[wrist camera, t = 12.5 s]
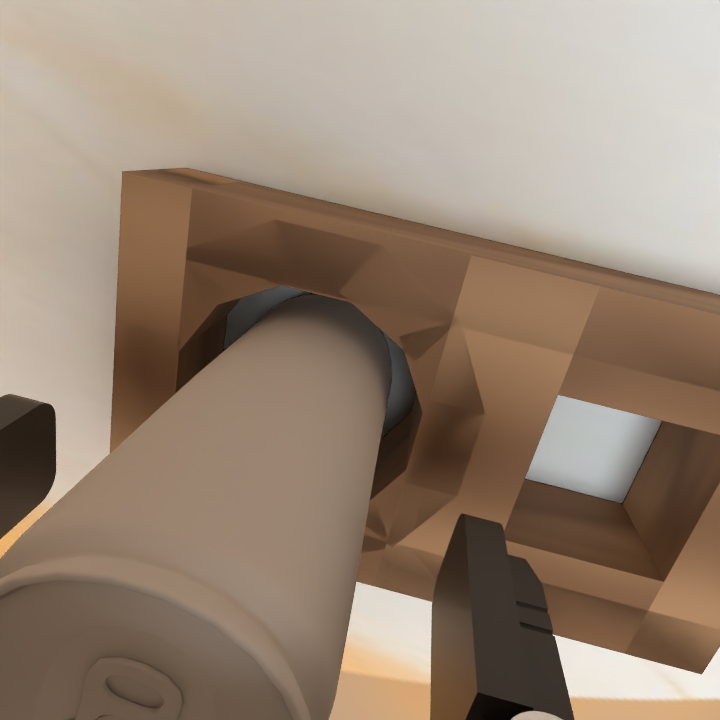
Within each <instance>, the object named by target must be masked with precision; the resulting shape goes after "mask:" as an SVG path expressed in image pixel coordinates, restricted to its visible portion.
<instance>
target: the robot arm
mask: <svg viewBox="0 0 720 720" xmlns="http://www.w3.org/2000/svg"><path fill="white" fill-rule="evenodd" d="M55 475H56V417H55V411H54V408H53V407H52V406H51V405H50V404H47V403H43V402H39V401H36V400H32V399H28V398H24V397H20V396H17V395H13V394H8V395H4V396H2V397H0V539H1V538H2V537H3V536H4V535H5V534H7V533H8V532H9V531H10V530H11V529H12V528H13V527H14V526H16V525H17V524H18V523H19V522H20V521H21V520H22V519H23V518H24V517H26V516H27V515H28V514H29V513H30V512H31V511H32V510H33V509H34V508H36V507H37V506H38V505H39V504H40V503H41V502H42V501H43V500H44V499H45V497H46V496H47V494H48V493H49V491H50V489H51V487H52V485H53V482H54V479H55ZM547 612H548V606H547V602H546V598H545V594H544V590H543V585H542V583H541V581H540V580H539V578H538V577H537V575H536V574H535V572H534V571H533V569H532V568H531V566H530V565H529V563H528V562H527V560H526V559H524V558H520V557H516V556H513V555H509V554H508V552H507V546H506V541H505V535H504V529H503V526H502V524H501V523H498V522H494V521H490V520H486V519H482V518H479V517H475V516H471V515H467V514H463V513H462V514H461V515H460V516H459V518H458V520H457V522H456V525H455V528H454V531H453V534H452V536H451V539H450V542H449V545H448V548H447V551H446V553H445V556H444V559H443V562H442V565H441V568H440V570H439V573H438V576H437V580H436V584H435V589H434V595H433V602H432V638H431V714H430V715H431V716H430V720H574V716H573V711H572V707H571V704H570V699H569V695H568V690H567V686H566V682H565V678H564V674H563V669H562V665H561V661H560V657H559V653H558V648H557V644H556V640H555V636H553V627H552V623H551V619H550V615H549V614H548V613H547Z"/></svg>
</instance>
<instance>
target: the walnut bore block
mask: <svg viewBox="0 0 720 720" xmlns="http://www.w3.org/2000/svg"><path fill="white" fill-rule="evenodd" d="M278 286H286V287H290V288H294V289H298V290H302V291H306V292H310V293H314V294H318V295H322V296H326V297H330V298H335V299H339V300H343V301H347V302H351V303H352V304H353V305H355V306H356V307H357V308H358V309H359V310H360V311H361V312H362V313H363V314H364V315H365V316H366V317H368V318H369V319H370V320H371V321H372V322H373V323H374V324H375V325H376V326H377V327H378V328H380V329H381V330H382V331H383V332H384V333H385V334H386V335H387V336H388V337H389V338H390V339H391V340H393V341H394V342H395V343H396V344H397V345H398V346H399V347H400V348H401V349H402V350H403V351H404V353H405V356H406V359H407V363H408V366H409V369H410V373H411V376H412V379H413V382H414V386H415V389H416V392H417V395H416V399H415V402H414V406H413V409H412V412H411V413H410V414H409V415H408V416H407V417H405V418H404V419H403V420H402V421H401V422H400V423H399V424H398V425H397V426H395V427H394V428H393V429H392V430H391V431H390V432H389V433H388V434H387V435H385V436H384V437H383V438H382V439H381V440H380V444H379V450H378V455H377V461H376V466H375V472H374V478H373V484H372V490H371V496H370V502H369V508H368V514H367V520H366V526H365V532H364V538H363V544H362V550H361V556H360V563H359V569H358V575H357V580H356V581H357V582H361V583H364V584H368V585H372V586H376V587H379V588H383V589H387V590H390V591H394V592H398V593H402V594H405V595H409V596H413V597H416V598H420V599H424V600H428V601H431V602H433V595H434V589H435V584H436V580H437V576H438V573H439V570H440V568H441V565H442V562H443V559H444V556H445V553H446V551H447V548H448V545H449V542H450V539H451V536H452V534H453V531H454V528H455V525H456V522H457V520H458V518H459V516H460V515H461V514H462V513H463V514H467V515H471V516H475V517H479V518H482V519H486V520H490V521H494V522H498V523H501V524H502V526H503V529H504V535H505V541H506V546H507V552H508V554H509V555H513V556H516V557H520V558H524V559H526V560H527V562H528V563H529V565H530V566H531V568H532V569H533V571H534V572H535V574H536V575H537V577H538V578H539V580H540V581H541V583H542V585H543V590H544V594H545V598H546V602H547V606H548V612H547V613H548V614H549V615H550V619H551V623H552V627H553V634H554V635H557V636H561V637H565V638H569V639H572V640H576V641H580V642H583V643H587V644H591V645H595V646H598V647H602V648H606V649H609V650H613V651H617V652H621V653H624V654H628V655H632V656H635V657H639V658H643V659H647V660H650V661H654V662H658V663H661V664H665V665H669V666H673V667H676V668H680V669H684V670H687V671H691V672H695V673H699V674H702V673H703V672H704V670H705V669H706V667H707V665H708V664H709V662H710V661H711V659H712V658H713V656H714V655H715V653H716V652H717V650H718V649H719V647H720V295H717V294H713V293H709V292H705V291H700V290H696V289H692V288H688V287H684V286H679V285H675V284H671V283H667V282H663V281H658V280H654V279H650V278H646V277H642V276H638V275H633V274H629V273H625V272H621V271H617V270H612V269H608V268H604V267H600V266H596V265H591V264H587V263H583V262H579V261H575V260H570V259H566V258H562V257H558V256H554V255H549V254H545V253H541V252H537V251H533V250H529V249H524V248H520V247H516V246H512V245H508V244H503V243H499V242H495V241H491V240H487V239H482V238H478V237H474V236H470V235H466V234H461V233H457V232H453V231H449V230H445V229H440V228H436V227H432V226H428V225H424V224H419V223H415V222H411V221H407V220H403V219H399V218H394V217H390V216H386V215H382V214H378V213H373V212H369V211H365V210H361V209H357V208H352V207H348V206H344V205H340V204H336V203H331V202H327V201H323V200H319V199H315V198H310V197H306V196H302V195H298V194H294V193H290V192H285V191H281V190H277V189H273V188H269V187H264V186H260V185H256V184H252V183H248V182H243V181H239V180H235V179H231V178H227V177H222V176H218V175H214V174H210V173H206V172H201V171H197V170H193V169H189V168H177V169H159V170H140V171H122V192H121V215H120V237H119V259H118V282H117V304H116V327H115V349H114V372H113V394H112V416H111V439H110V453H111V452H112V451H113V450H114V449H116V448H117V447H118V446H119V445H120V444H121V443H122V442H123V441H124V440H125V439H126V438H128V437H129V436H130V435H131V434H132V433H133V432H134V431H135V430H136V429H137V428H138V427H139V426H141V425H142V424H143V423H144V422H145V421H146V420H147V419H148V418H149V417H150V416H151V415H152V414H154V413H155V412H156V411H157V410H158V409H159V408H160V407H161V406H162V405H163V404H164V403H166V402H167V401H168V400H169V399H170V398H171V397H172V396H173V395H174V394H176V393H177V392H178V391H179V390H180V389H181V388H182V387H183V386H184V385H185V384H187V383H188V382H189V381H190V380H191V379H192V378H193V377H194V376H195V375H197V374H198V373H199V372H200V371H201V370H202V369H204V368H205V367H206V366H207V365H208V364H209V363H211V362H212V361H213V360H214V359H215V358H217V357H218V356H219V355H220V354H221V353H222V352H223V344H224V336H225V328H226V320H227V314H228V313H229V312H230V310H231V309H232V308H233V307H234V306H235V305H236V303H237V302H238V301H239V300H240V299H241V297H245V296H248V295H251V294H255V293H258V292H261V291H265V290H268V289H271V288H275V287H278ZM557 395H562V396H566V397H570V398H574V399H578V400H582V401H586V402H590V403H594V404H598V405H602V406H606V407H610V408H614V409H618V410H622V411H626V412H630V413H634V414H638V415H642V416H646V417H650V418H654V419H658V420H662V421H663V422H662V424H661V426H660V429H659V431H658V433H657V435H656V437H655V439H654V441H653V443H652V445H651V447H650V449H649V451H648V453H647V455H646V457H645V459H644V461H643V463H642V466H641V468H640V470H639V472H638V474H637V476H636V478H635V480H634V482H633V484H632V486H631V488H630V490H629V492H628V494H627V496H626V498H625V500H624V502H623V504H620V503H616V502H612V501H608V500H604V499H600V498H596V497H592V496H588V495H585V494H581V493H577V492H573V491H569V490H565V489H561V488H557V487H553V486H550V485H546V484H542V483H538V482H534V481H530V480H526V479H525V477H526V474H527V471H528V469H529V466H530V464H531V461H532V459H533V456H534V454H535V451H536V449H537V446H538V444H539V441H540V438H541V436H542V433H543V431H544V428H545V426H546V423H547V421H548V418H549V416H550V413H551V411H552V408H553V405H554V403H555V400H556V398H557Z"/></svg>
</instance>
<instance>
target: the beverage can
mask: <svg viewBox="0 0 720 720" xmlns="http://www.w3.org/2000/svg"><path fill="white" fill-rule="evenodd" d="M391 382H392V371H391V358H390V354H389V350H388V346H387V342H386V340H385V338H384V336H383V335H382V333H381V331H380V329H379V328H378V327H377V326H376V325H375V324H374V323H373V322H372V321H371V320H370V319H369V318H368V317H366V316H365V315H364V314H363V313H362V312H361V311H360V310H359V309H358V308H357V307H356V306H354V305H352V304H350V303H349V302H347V301H343V300H339V299H335V298H330V297H326V296H322V295H303V296H300V297H296V298H293V299H289V300H286V301H285V302H283V303H281V304H279V305H278V306H276V307H274V308H273V309H271V310H269V311H268V312H267V313H266V314H265V315H264V316H263V317H262V318H261V319H260V320H259V321H258V322H257V323H256V324H254V325H253V326H252V327H251V328H250V329H249V330H248V331H247V332H246V333H244V334H243V335H242V336H241V337H240V338H239V339H238V340H236V341H235V342H234V343H233V344H232V345H231V346H229V347H228V348H227V349H226V350H225V351H224V352H222V353H221V354H220V355H219V356H218V357H217V358H215V359H214V360H213V361H212V362H211V363H209V364H208V365H207V366H206V367H205V368H204V369H202V370H201V371H200V372H199V373H198V374H197V375H195V376H194V377H193V378H192V379H191V380H190V381H189V382H188V383H187V384H185V385H184V386H183V387H182V388H181V389H180V390H179V391H178V392H177V393H176V394H174V395H173V396H172V397H171V398H170V399H169V400H168V401H167V402H166V403H164V404H163V405H162V406H161V407H160V408H159V409H158V410H157V411H156V412H155V413H154V414H152V415H151V416H150V417H149V418H148V419H147V420H146V421H145V422H144V423H143V424H142V425H141V426H139V427H138V428H137V429H136V430H135V431H134V432H133V433H132V434H131V435H130V436H129V437H128V438H126V439H125V440H124V441H123V442H122V443H121V444H120V445H119V446H118V447H117V448H116V449H114V450H113V451H112V452H111V453H110V454H109V455H108V456H107V457H106V458H105V459H104V460H103V461H101V462H100V463H99V464H98V465H97V466H96V467H95V468H94V469H93V470H92V471H91V472H90V473H88V474H87V475H86V476H85V477H84V478H83V479H82V480H81V481H80V482H79V483H78V484H77V485H75V486H74V487H73V488H72V489H71V490H70V491H69V492H68V493H67V494H66V495H65V496H63V497H62V498H61V499H60V500H59V501H58V502H57V503H56V504H55V505H54V506H53V507H52V508H50V509H49V510H48V511H47V512H46V513H45V514H44V515H43V516H42V517H41V518H40V519H39V520H37V521H36V522H35V523H34V524H33V525H32V526H31V527H30V528H29V529H28V530H27V531H26V532H24V533H23V534H22V535H21V537H20V538H19V539H18V540H17V541H16V542H15V543H14V544H13V545H12V546H11V547H10V549H9V550H8V551H7V552H6V553H5V554H4V555H3V556H2V557H1V559H0V720H328V719H329V716H330V713H331V710H332V707H333V703H334V700H335V696H336V690H337V685H338V680H339V674H340V669H341V664H342V658H343V653H344V647H345V642H346V636H347V631H348V626H349V620H350V614H351V609H352V603H353V597H354V592H355V586H356V580H357V575H358V569H359V563H360V556H361V550H362V544H363V538H364V532H365V526H366V520H367V514H368V508H369V502H370V496H371V490H372V484H373V478H374V472H375V466H376V461H377V455H378V450H379V444H380V439H381V434H382V429H383V424H384V419H385V413H386V408H387V403H388V398H389V393H390V387H391Z"/></svg>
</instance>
